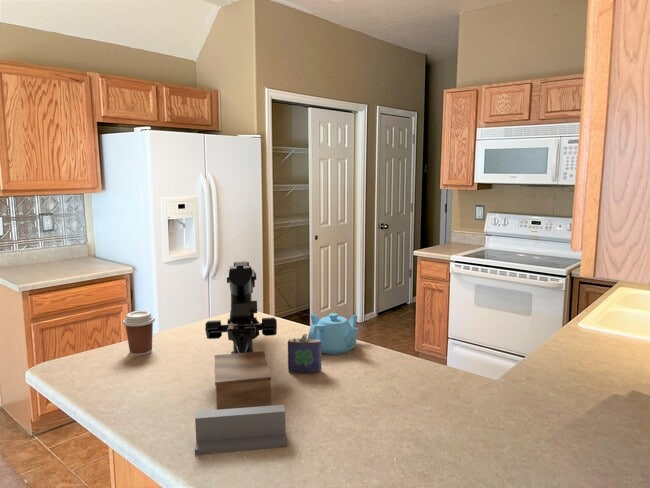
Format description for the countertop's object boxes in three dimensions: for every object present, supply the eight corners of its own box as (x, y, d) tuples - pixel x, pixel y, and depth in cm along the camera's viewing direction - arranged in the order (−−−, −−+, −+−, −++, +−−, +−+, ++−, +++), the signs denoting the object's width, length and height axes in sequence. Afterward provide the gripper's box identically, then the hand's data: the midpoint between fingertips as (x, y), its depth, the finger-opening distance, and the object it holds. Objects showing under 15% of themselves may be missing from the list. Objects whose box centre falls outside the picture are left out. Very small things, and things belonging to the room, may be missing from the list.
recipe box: (216, 389, 128) (214, 355, 126) (264, 384, 130) (264, 351, 129) (216, 420, 112) (215, 382, 110) (272, 414, 115) (271, 376, 113)
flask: (321, 369, 139) (321, 332, 137) (321, 374, 136) (320, 336, 135) (288, 369, 140) (287, 332, 138) (287, 373, 137) (286, 336, 135)
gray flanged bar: (197, 438, 104) (196, 411, 103) (284, 431, 107) (284, 404, 106) (194, 454, 99) (193, 426, 98) (286, 446, 101) (286, 418, 100)
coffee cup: (120, 351, 154) (117, 313, 152) (149, 344, 160) (147, 307, 158) (132, 359, 147) (129, 320, 145) (161, 352, 153) (159, 314, 151)
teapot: (311, 338, 164) (310, 306, 163) (357, 339, 164) (357, 307, 162) (307, 356, 149) (306, 321, 148) (357, 356, 149) (358, 321, 147)
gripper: (204, 291, 132) (202, 346, 123) (275, 288, 135) (279, 341, 125) (207, 312, 141) (206, 364, 132) (274, 309, 143) (277, 360, 134)
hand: (242, 357), depth 130 cm, fingers closed
